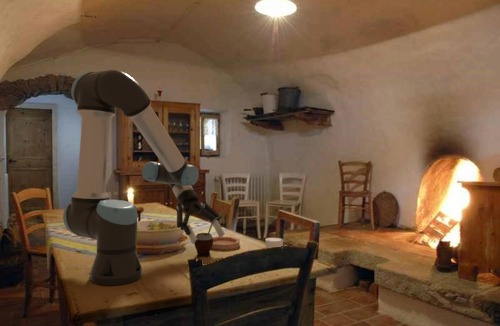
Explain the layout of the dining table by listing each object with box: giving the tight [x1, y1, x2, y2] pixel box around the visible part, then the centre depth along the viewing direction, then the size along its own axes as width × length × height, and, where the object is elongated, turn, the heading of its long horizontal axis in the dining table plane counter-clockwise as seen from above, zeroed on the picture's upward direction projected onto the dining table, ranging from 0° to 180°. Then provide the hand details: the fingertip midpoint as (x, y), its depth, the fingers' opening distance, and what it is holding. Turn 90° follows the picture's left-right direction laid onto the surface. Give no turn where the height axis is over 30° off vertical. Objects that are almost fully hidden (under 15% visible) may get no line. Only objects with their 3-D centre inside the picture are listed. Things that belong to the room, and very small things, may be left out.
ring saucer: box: [211, 235, 241, 251], centre depth 161 cm, size 14×14×2 cm
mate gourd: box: [193, 217, 219, 258], centre depth 146 cm, size 8×8×15 cm
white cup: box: [265, 237, 284, 249], centre depth 145 cm, size 7×7×7 cm
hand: (209, 238), depth 145 cm, fingers open, 13 cm apart
